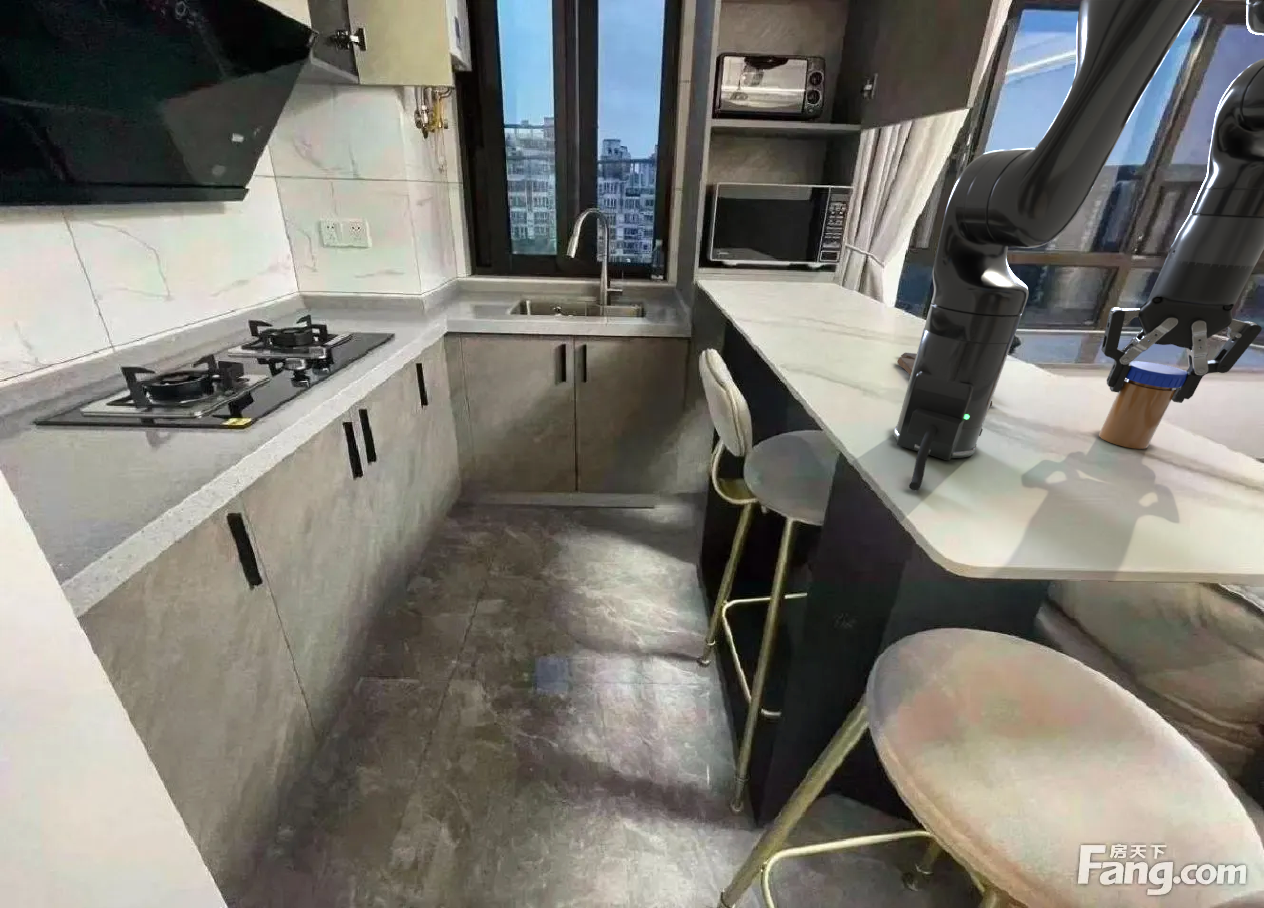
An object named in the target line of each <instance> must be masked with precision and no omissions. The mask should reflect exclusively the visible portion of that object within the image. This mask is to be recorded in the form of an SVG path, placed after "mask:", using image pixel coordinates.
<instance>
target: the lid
mask: <svg viewBox="0 0 1264 908" xmlns="http://www.w3.org/2000/svg"><path fill="white" fill-rule="evenodd" d="M1129 364H1130V365H1131V367H1130V370H1129V372H1128V374H1127V376H1126V378H1127V379H1129V380H1132V381H1135V382H1138V383H1142V384H1147V385H1152V386H1158V387H1166V388H1179V387H1181V386H1183V384H1184V382H1185V380H1186V376H1187V374H1188V373H1187V372H1186V371H1187V370H1185V369H1182V368H1179V367H1176V366H1171V365H1168V364H1162V363H1157V362H1151V361H1138V360H1135V361H1134V360H1133V361H1132V362H1131V363H1129ZM1184 370H1185V371H1184ZM1126 378H1125V379H1126Z"/></svg>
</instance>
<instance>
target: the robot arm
mask: <svg viewBox="0 0 1264 908" xmlns="http://www.w3.org/2000/svg"><path fill="white" fill-rule="evenodd" d="M1201 2H1202V0H1080V3H1079V9H1078V13H1077V19H1076V20H1077V23H1076V61H1075V63H1076V64H1075V72H1074V77H1073V81H1072V84H1071V87H1070V88H1069V91H1068V93H1067V96H1066V98H1065V99H1064V101H1063V104H1062V105H1061V107H1060V109H1059V111H1058V113H1057V114H1056V116H1055V118H1054V119H1053V122H1052V123H1051V124H1050V126H1049V128H1048V130H1047V131H1046V132H1045V134H1044V136H1043V137H1042V138H1041V140H1040V142H1039V143H1038V144H1037V145H1036V146H1035V147H1030V148H1029V147H1028V148H1011V149H999V150H992V151H988V152H985V153H982V154H980V155H979V156H977V157H976V158H974V159H972V161H971V162H970V163H969V164H968V165H967V166H966V167H964V169H963V170H962V172H961V173H960V174H959V176H958V178H957V179H956V182H955V184H954V186H953V188H952V190H951V192H950V195H949V198H948V201H947V204H946V208H945V212H944V215H943V220H942V225H941V229H940V234H939V238H938V243H937V246H936V247H937V248H936V251H935V257H934V260H933V261H934V262H933V267H932V283H933V293H932V298H931V302H930V306H929V309H928V312H927V317H926V319H925V323H924V327H923V330H922V334H921V337H920V341H919V344H918V348H917V352H916V354H917V355H916V359H915V362H914V366H913V369H912V373H911V376H910V375H909V376H910V377H909V380H908V384H907V388H906V391H905V394H904V397H903V398H904V399H903V402H902V405H901V409H900V413H899V416H898V420H897V424H896V426H895V428H894V432H893V437H894V439H895V440H896V445H897V446H898V447H902V448H906V449H909V450H912V451H915V452H917V455H916V458H915V463H914V469H913V473H912V478H911V481H910V482H909V485H908V486H909V487H908V488H909V489H910V490H911V491H914V492H915V491H918V490H919V489H920V488H921V485H922V483H923V480H924V475H925V469H926V464H927V459H928V456H931V457H935V458H938V459H941V460H944V461H950V460H951V459H961V458H962V459H963V458H967V457H971V456H972V455H974V453H975V451H976V448H977V443H978V441H979V438H980V437H981V435H982V433H983V430H984V429H983V426H984V423H985V420H986V417H987V414H988V412H989V409H990V407H989V406H990V403H991V401H993V397H994V394H995V392H996V388H997V386H998V383H999V380H1000V378H1001V374H1002V372H1003V369H1004V366H1005V363H1006V360H1007V357H1008V355H1009V352H1010V349H1011V347H1012V345H1013V342H1014V341H1013V340H1014V338H1015V335H1016V333H1017V331H1018V327H1019V325H1020V322H1021V319H1022V316H1023V313H1024V311H1025V307H1026V305H1027V302H1028V298H1029V294H1030V292H1029V288H1028V286H1027V285H1026V284H1025V283H1024V282H1023V281H1022V280H1020V278H1018V277H1017V276H1016V275H1015V274H1014V273H1013V271H1012V270H1011V268H1010V267H1009V263H1008V260H1007V255H1008V249H1009V248H1018V249H1036V248H1040V247H1043V246H1045V245H1047V244H1049V243H1051V242H1052V241H1054V240H1056V239H1057V238H1058V237H1059V236H1060V235H1061V234H1062V233H1064V231H1066V229H1067V228H1068V227H1069V225H1070V224H1072V222H1073V221H1074V219H1076V217H1077V216H1078V214H1079V212H1080V211H1081V209H1082V208H1083V206H1084V205H1085V203H1086V201H1087V200H1088V198H1089V196H1090V194H1091V193H1092V191H1093V189H1094V187H1095V185H1096V183H1097V181H1098V180H1099V178H1100V176H1101V174H1102V172H1103V170H1104V168H1105V166H1106V164H1107V162H1108V161H1109V159H1110V157H1111V155H1112V153H1113V151H1114V149H1115V147H1116V145H1117V143H1118V141H1119V139H1120V138H1121V135H1122V133H1123V131H1124V129H1125V128H1126V126H1127V124H1128V122H1129V120H1130V118H1131V116H1132V114H1133V112H1134V111H1135V109H1136V107H1137V106H1138V104H1139V102H1140V100H1141V98H1142V96H1143V95H1144V93H1145V91H1146V90H1147V88H1148V86H1149V85H1150V83H1151V82H1152V80H1153V78H1154V77H1155V75H1156V73H1157V72H1158V70H1159V68H1160V67H1161V65H1162V63H1163V62H1164V60H1165V58H1166V56H1167V55H1168V54H1169V51H1170V49H1171V48H1172V47H1173V45H1174V43H1175V41H1176V40H1177V39H1178V37H1179V35H1180V33H1181V32H1182V30H1183V29H1184V27H1185V25H1186V24H1187V23H1188V21H1189V20H1190V17H1191V16H1193V13H1194V12H1195V11H1196V9H1197V8H1198V6H1199V5H1200V3H1201ZM1245 19H1246V26H1247V29H1248V31H1249V32H1250V33H1252V34H1255V35H1262V36H1264V0H1246V18H1245ZM1211 134H1212V135H1211V141H1210V147H1209V154H1208V161H1207V162H1208V163H1207V172H1206V177H1205V179H1204V181H1203V183H1202V185H1201V187H1200V190H1199V191H1198V194H1197V196H1196V199H1195V201H1194V203H1193V205H1192V207H1191V209H1190V211H1189V215H1188V216H1187V218H1186V220H1185V222H1184V223H1183V224H1182V226H1181V227H1180V229H1179V231H1178V233H1177V235H1176V237H1175V238H1174V241H1173V243H1172V244H1171V246H1170V247H1169V249H1168V252H1167V256H1166V258H1165V260H1164V263H1163V265H1162V267H1161V269H1160V272H1159V274H1158V276H1157V279H1156V281H1155V283H1154V285H1153V287H1152V289H1151V292H1150V294H1149V296H1148V297H1147V298H1148V299H1147V300H1146V301H1144V303H1143V304H1142V305H1141V306H1139V307H1138V308H1121V307H1118V306H1115V307H1112V308H1110V310H1109V311H1108V316H1107V321H1106V326H1105V330H1104V335H1103V339H1102V344H1101V352H1102V353H1103V354H1104V356H1105V357H1107V358H1110V359H1112V360H1113V361H1114V362H1113V364H1112V367H1111V369H1110V371H1109V373H1108V376H1107V378H1106V385H1107V386H1108V387H1109V390H1110V392H1112V393H1118V392H1119V391H1120V389H1121V387H1122V385H1123V383H1124V381H1125V379H1126V376H1127V374H1128V372H1129V370H1130V367H1131V365H1130V364H1129V363H1131V362H1134V360H1135V359H1136V358H1137V357H1139V356H1140V355H1141V354H1142V353H1144V352H1146V351H1148V350H1149V349H1150V348H1151V347H1152V346H1153V345H1158V346H1159V345H1160V346H1168V345H1173V346H1175V347H1178V348H1181V349H1182V348H1184V349H1185V351H1186V354H1187V364H1188V368H1187V370H1185V369H1183V370H1184V371H1186V372H1187V373H1188V374H1187V376H1186V380H1185V382H1184V384H1183V386H1181V387H1179V388H1176V392H1175V394H1174V396H1173V398H1172V400H1171V401H1172V402H1174V403H1179V404H1182V403H1183V402H1184V400H1190V399H1191V398H1192V397H1193V396H1194V394H1195V392H1196V391H1197V388H1198V386H1199V384H1200V383H1201V381H1202V379H1203V378H1204V376H1206V375H1208V374H1217V373H1219V374H1225V373H1228V372H1230V370H1231V369H1232V368H1233V367H1234V366H1235V364H1236V363H1237V362H1238V360H1239V359H1240V358H1241V357H1242V355H1244V353H1245V352H1246V351H1247V350H1248V348H1249V347H1250V346H1251V345H1252V343H1253V342H1254V341H1255V340H1256V338H1257V337H1258V336H1259V335H1260V333H1261V332H1262V330H1263V329H1262V326H1260V325H1259V324H1257V323H1256V322H1253V321H1248V320H1247V321H1244V320H1243V321H1242V320H1238V319H1235V318H1233V309H1234V307H1235V305H1236V303H1237V301H1238V299H1239V297H1240V295H1241V294H1242V292H1243V290H1244V288H1245V286H1246V284H1247V282H1248V280H1249V278H1250V276H1251V274H1252V273H1253V270H1254V269H1255V266H1256V265H1257V263H1258V261H1259V259H1260V257H1261V255H1262V253H1263V251H1264V58H1261V59H1259V60H1256V61H1255V62H1254V63H1252V64H1250V65H1249V66H1247V67H1246V68H1245V69H1243V71H1242V72H1241V73H1239V74H1238V75H1237V77H1236V78H1235V79H1234V80H1233V81H1232V82H1231V83H1230V85H1229V86H1228V88H1227V89H1226V90H1225V92H1224V94H1223V95H1222V97H1221V99H1220V100H1219V104H1218V105H1217V109H1216V112H1215V117H1214V121H1213V128H1212V133H1211ZM1135 318H1137V319H1138V321H1139V324H1140V326H1141V330H1140V331H1139V332H1138V333H1137V334H1135V336H1134V337H1132V338H1131V339H1130V341H1129V343H1127V344H1126V345H1125V346H1124V347H1123V348H1122V349H1121V348H1119V344H1120V339H1121V335H1122V332H1123V331H1122V330H1123V327H1127V326H1128V325H1130V324H1131V322H1132V320H1133V319H1135ZM1226 328H1227V332H1226V336H1227V338H1228V339H1227V341H1226V342H1225V343H1224V344H1223V346H1222V347H1221V348H1220V350H1219V351H1217V353H1216V354H1215V356H1214V357H1213V359H1211V360H1208V356H1209V349H1208V347H1209V346H1208V339H1210V338H1211V337H1213V336H1215V335H1216V334H1218V333H1220V332H1222V331H1223V330H1224V329H1226Z"/></svg>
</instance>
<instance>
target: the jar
mask: <svg viewBox="0 0 1264 908" xmlns="http://www.w3.org/2000/svg"><path fill="white" fill-rule="evenodd" d="M1175 392H1176V388H1166V387H1158V386H1152V385H1147V384H1142V383H1138V382H1135V381H1132V380H1129V379H1127V378H1125V381H1124V383H1123V385H1122V387H1121V389H1120V391H1119V392H1117V394H1116V396H1115V398H1114V401H1112V405H1111V406H1110V409H1109V412H1108V413H1107V415H1106V418H1105V420H1104V421H1103V422H1104V423H1103V424H1102V427H1101V429H1100V431H1099V433H1098V437H1099V438H1100V439H1102V440H1103V441H1105V442H1108V443H1110V444H1113V445H1116V446H1119V447H1124V448H1129V449H1135V450H1136V449H1137V450H1141V449H1142V450H1143V449H1147V448H1148V447H1149V445H1150V444H1151V441H1152V439H1153V437H1154V436H1155V434H1156V431H1157V430H1158V427H1159V425H1160V424H1161V422H1162V419H1163V417H1164V416H1165V413H1166V411H1167V410H1168V409H1169V408H1168V407H1169V406H1170V404H1171V402H1172V401H1173V400H1172V398H1173V396H1174V394H1175Z"/></svg>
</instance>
